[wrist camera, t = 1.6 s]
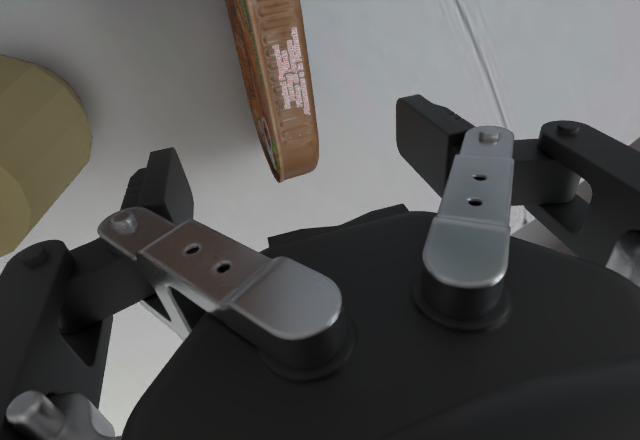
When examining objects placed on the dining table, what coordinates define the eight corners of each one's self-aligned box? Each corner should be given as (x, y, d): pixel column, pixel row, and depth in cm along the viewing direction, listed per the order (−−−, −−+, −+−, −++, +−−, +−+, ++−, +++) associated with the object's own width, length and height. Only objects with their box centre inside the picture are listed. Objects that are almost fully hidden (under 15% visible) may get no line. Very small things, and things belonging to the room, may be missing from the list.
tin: (203, -96, 21) (206, -116, 15) (259, -103, 22) (287, -126, 15) (260, 151, 30) (278, 208, 24) (299, 142, 31) (328, 196, 24)
